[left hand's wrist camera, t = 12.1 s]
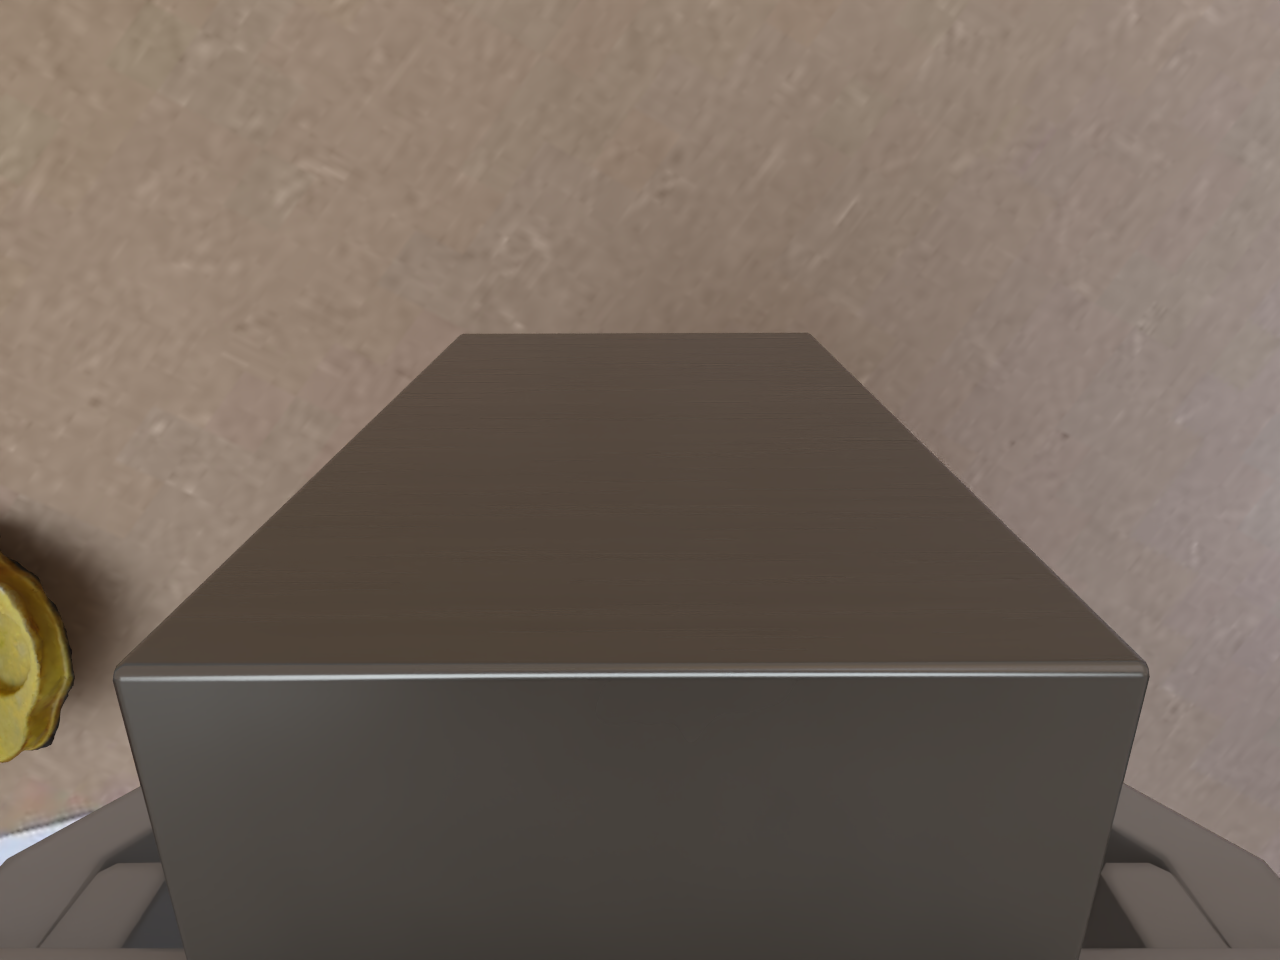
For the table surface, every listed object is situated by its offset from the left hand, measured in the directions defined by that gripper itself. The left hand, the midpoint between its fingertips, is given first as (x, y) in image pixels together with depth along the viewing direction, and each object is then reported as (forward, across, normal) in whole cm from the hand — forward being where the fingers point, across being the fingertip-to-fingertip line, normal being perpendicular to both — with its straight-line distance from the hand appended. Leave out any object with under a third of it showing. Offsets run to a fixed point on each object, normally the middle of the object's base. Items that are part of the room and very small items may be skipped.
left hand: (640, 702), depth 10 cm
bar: (+3, 0, -10) cm, 10 cm away
